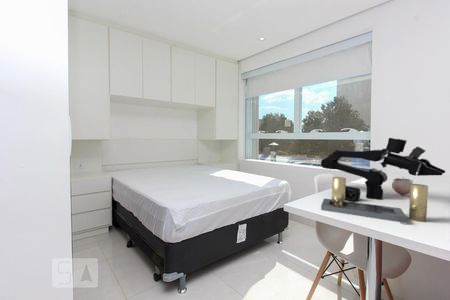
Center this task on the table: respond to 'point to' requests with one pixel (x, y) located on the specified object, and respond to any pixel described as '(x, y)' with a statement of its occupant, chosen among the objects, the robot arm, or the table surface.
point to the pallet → (366, 210)
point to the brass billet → (418, 202)
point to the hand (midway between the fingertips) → (443, 173)
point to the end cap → (352, 194)
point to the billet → (338, 191)
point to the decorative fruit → (401, 186)
